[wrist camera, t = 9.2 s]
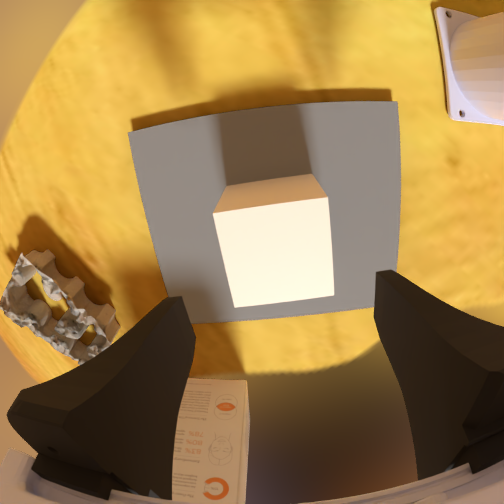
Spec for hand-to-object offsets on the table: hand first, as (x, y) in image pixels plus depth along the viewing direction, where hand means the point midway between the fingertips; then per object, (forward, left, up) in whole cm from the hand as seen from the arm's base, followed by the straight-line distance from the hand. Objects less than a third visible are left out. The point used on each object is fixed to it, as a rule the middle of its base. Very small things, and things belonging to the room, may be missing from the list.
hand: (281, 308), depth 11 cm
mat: (0, 0, -9) cm, 9 cm away
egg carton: (+18, +5, -10) cm, 21 cm away
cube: (0, 0, -8) cm, 9 cm away
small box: (+8, +17, -10) cm, 21 cm away
